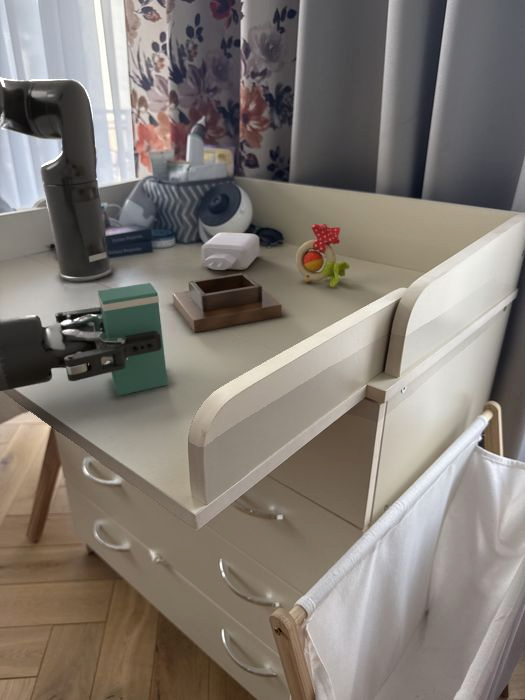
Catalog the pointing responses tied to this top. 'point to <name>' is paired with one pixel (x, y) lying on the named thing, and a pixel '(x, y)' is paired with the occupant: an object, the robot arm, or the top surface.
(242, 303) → the seat base
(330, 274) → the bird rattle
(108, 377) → the top surface
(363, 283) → the top surface
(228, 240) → the charger
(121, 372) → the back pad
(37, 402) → the top surface
